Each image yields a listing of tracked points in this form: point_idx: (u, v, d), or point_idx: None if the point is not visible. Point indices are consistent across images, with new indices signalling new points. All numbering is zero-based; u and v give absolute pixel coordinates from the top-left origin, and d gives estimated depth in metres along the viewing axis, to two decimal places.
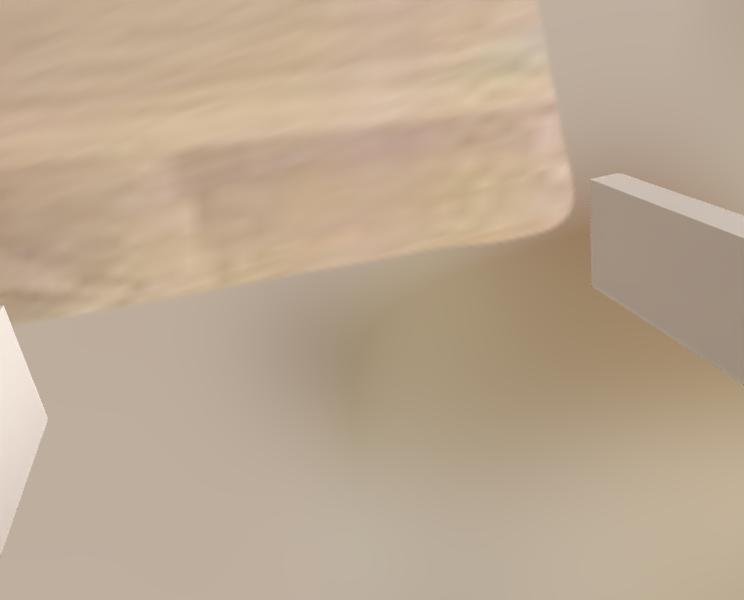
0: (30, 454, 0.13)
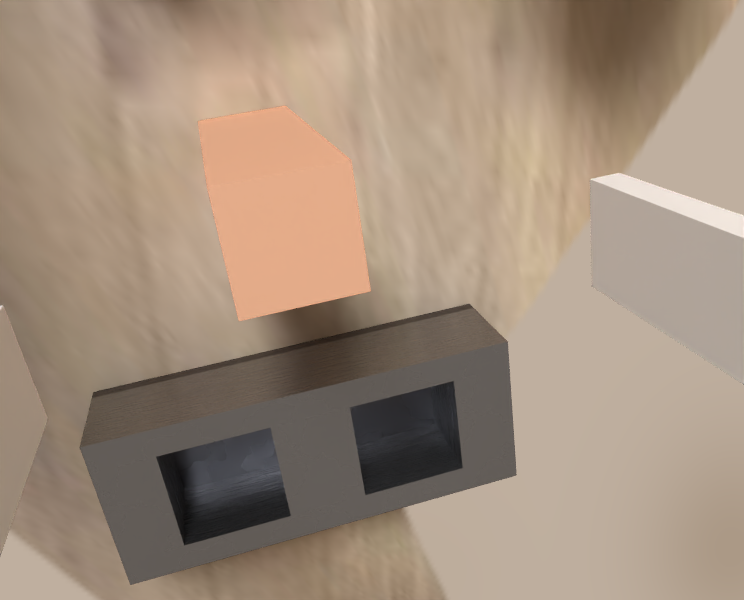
0: (30, 454, 0.13)
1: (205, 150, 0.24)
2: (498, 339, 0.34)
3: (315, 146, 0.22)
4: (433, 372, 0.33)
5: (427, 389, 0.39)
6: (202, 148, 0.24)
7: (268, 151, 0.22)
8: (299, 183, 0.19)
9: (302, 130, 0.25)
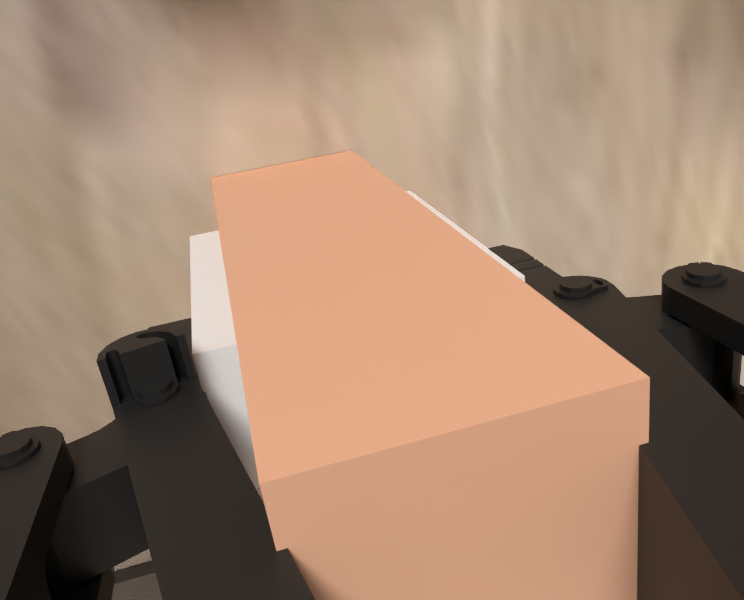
0: None
1: (232, 273, 0.12)
2: None
3: (489, 289, 0.10)
4: None
5: None
6: (225, 264, 0.12)
7: (378, 297, 0.10)
8: (510, 447, 0.07)
9: (421, 223, 0.13)
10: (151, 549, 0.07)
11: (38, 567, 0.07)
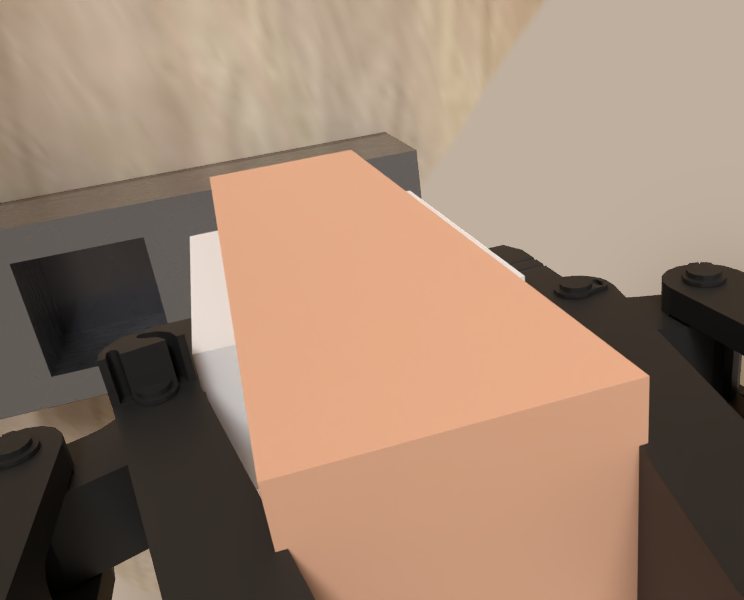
0: None
1: (231, 272, 0.12)
2: (406, 149, 0.30)
3: (489, 288, 0.10)
4: None
5: None
6: (224, 263, 0.12)
7: (378, 295, 0.10)
8: (511, 446, 0.07)
9: (421, 222, 0.13)
10: (151, 549, 0.07)
11: (38, 567, 0.07)
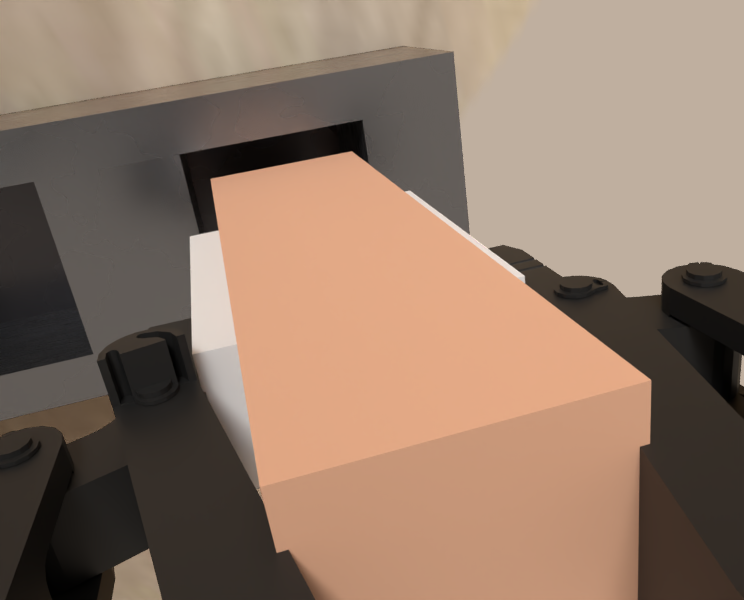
0: None
1: (233, 274, 0.12)
2: (438, 52, 0.20)
3: (490, 291, 0.10)
4: (325, 99, 0.19)
5: None
6: (226, 265, 0.12)
7: (379, 299, 0.10)
8: (512, 450, 0.07)
9: (422, 224, 0.13)
10: (151, 549, 0.07)
11: (38, 567, 0.07)
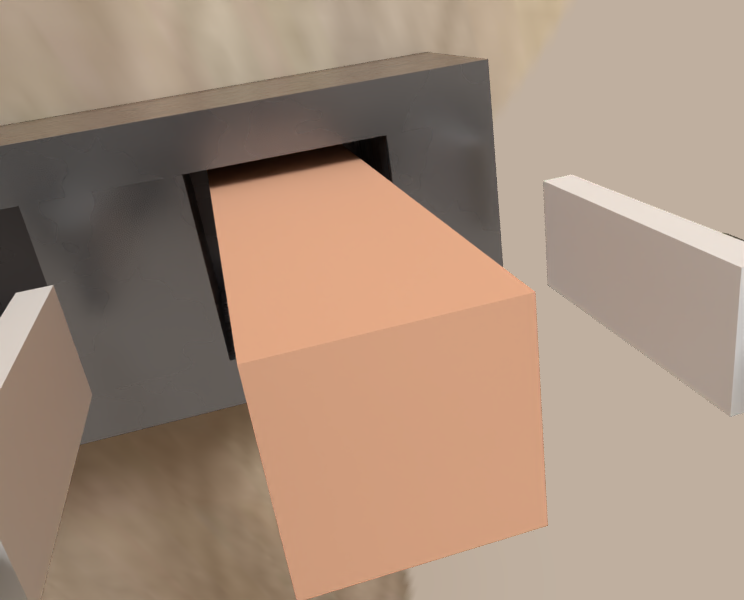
0: (80, 425, 0.14)
1: (222, 233, 0.14)
2: (470, 60, 0.18)
3: (429, 239, 0.12)
4: (345, 112, 0.17)
5: None
6: (217, 227, 0.14)
7: (340, 246, 0.12)
8: (429, 344, 0.09)
9: (383, 193, 0.15)
10: None
11: None
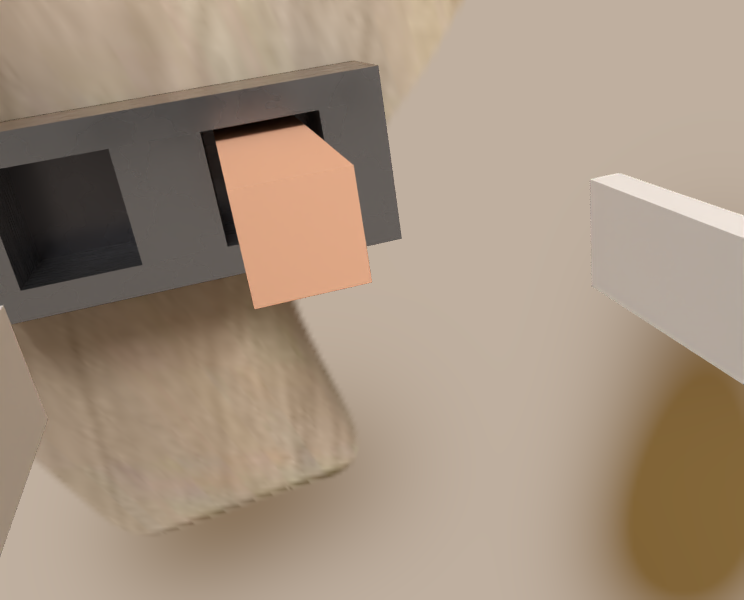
0: (30, 454, 0.13)
1: (222, 157, 0.26)
2: (369, 66, 0.31)
3: (321, 153, 0.24)
4: (294, 96, 0.30)
5: None
6: (219, 155, 0.27)
7: (279, 158, 0.25)
8: (307, 186, 0.22)
9: (309, 138, 0.27)
10: None
11: None
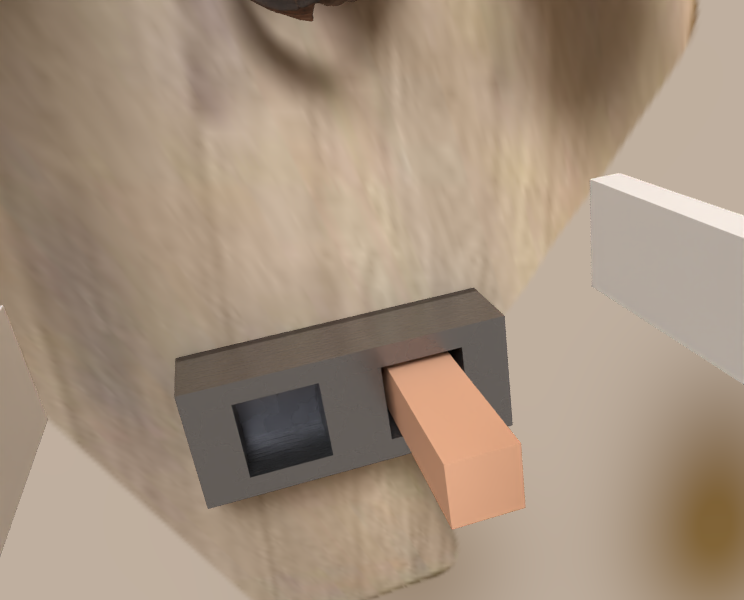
0: (30, 454, 0.13)
1: (410, 404, 0.39)
2: (497, 314, 0.43)
3: (488, 415, 0.36)
4: (446, 340, 0.42)
5: None
6: (406, 399, 0.39)
7: (458, 416, 0.37)
8: (492, 457, 0.34)
9: (466, 384, 0.40)
10: None
11: None
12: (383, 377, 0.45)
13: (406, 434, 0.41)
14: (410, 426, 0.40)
